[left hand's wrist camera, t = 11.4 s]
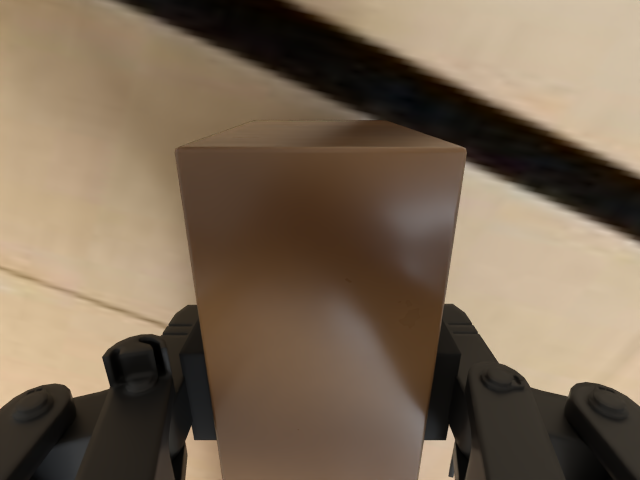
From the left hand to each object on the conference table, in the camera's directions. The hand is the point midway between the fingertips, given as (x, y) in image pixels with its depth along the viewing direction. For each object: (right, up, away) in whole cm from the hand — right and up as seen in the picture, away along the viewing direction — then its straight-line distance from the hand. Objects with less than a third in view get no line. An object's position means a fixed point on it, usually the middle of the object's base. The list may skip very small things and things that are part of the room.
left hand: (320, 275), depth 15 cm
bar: (0, -29, +12) cm, 31 cm away
